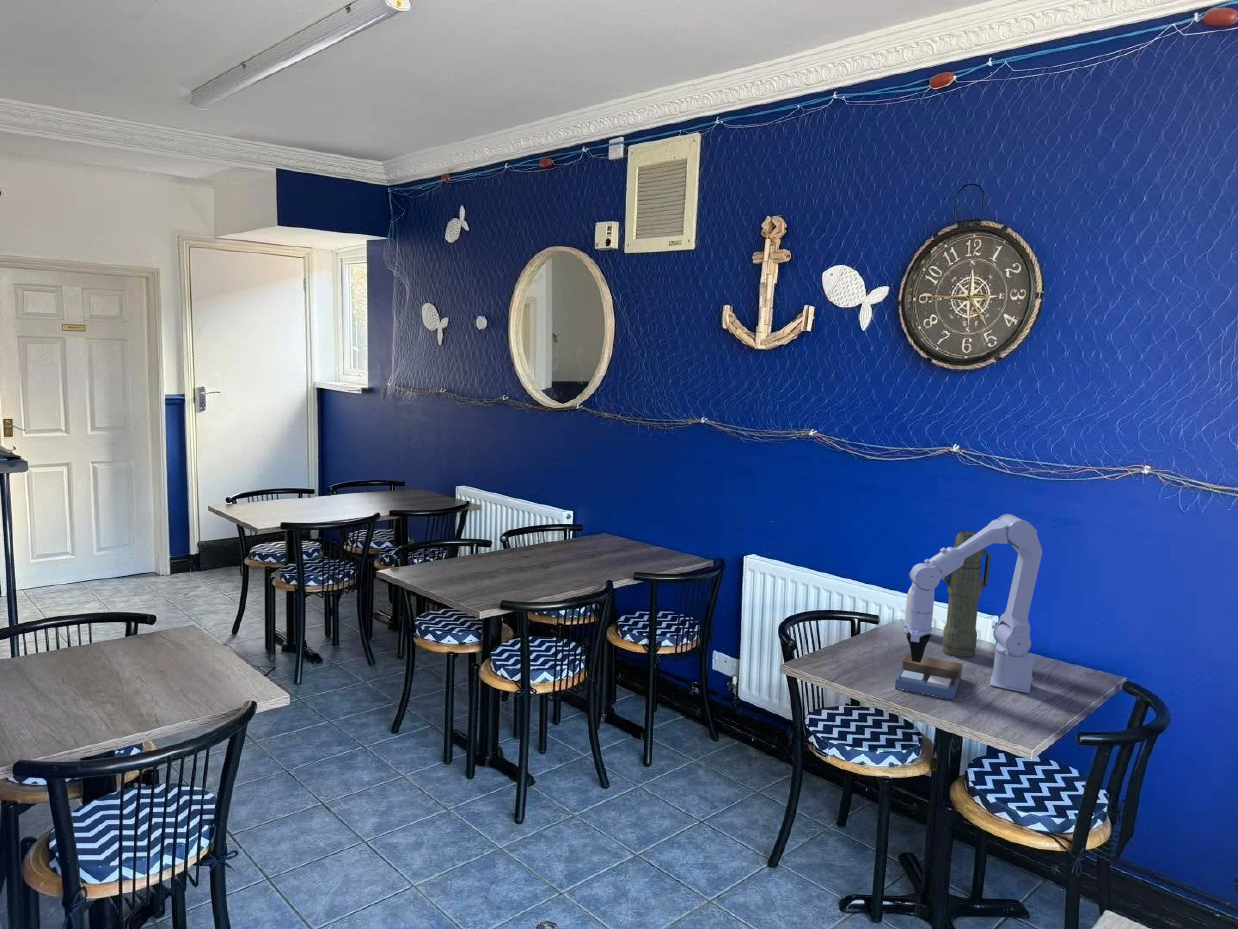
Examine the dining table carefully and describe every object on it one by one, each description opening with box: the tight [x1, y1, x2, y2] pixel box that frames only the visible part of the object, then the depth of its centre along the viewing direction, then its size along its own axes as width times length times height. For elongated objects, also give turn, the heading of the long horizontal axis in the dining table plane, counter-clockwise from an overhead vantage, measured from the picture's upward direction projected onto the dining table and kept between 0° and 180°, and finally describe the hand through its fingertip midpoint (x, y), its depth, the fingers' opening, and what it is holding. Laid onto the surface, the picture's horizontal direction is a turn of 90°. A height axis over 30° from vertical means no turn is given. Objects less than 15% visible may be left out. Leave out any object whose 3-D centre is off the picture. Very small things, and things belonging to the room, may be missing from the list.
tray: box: [894, 667, 959, 701], centre depth 225 cm, size 14×10×2 cm
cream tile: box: [927, 675, 951, 689], centre depth 223 cm, size 5×5×2 cm
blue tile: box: [900, 670, 924, 684], centre depth 226 cm, size 5×5×2 cm
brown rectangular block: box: [901, 653, 963, 687], centre depth 233 cm, size 14×7×4 cm, turn 63°
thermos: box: [942, 530, 992, 659], centre depth 251 cm, size 9×12×35 cm
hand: (916, 661), depth 231 cm, fingers closed
